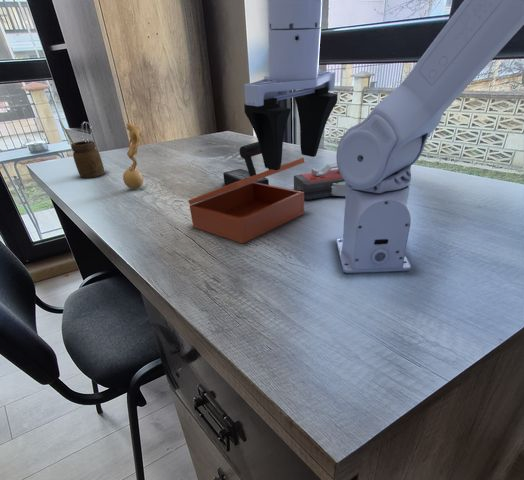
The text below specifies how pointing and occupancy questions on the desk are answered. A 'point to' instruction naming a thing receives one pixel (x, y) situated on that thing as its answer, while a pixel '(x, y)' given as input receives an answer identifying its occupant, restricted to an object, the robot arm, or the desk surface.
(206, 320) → the desk surface
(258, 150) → the lid
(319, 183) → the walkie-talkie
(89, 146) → the brown clasp jar
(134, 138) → the figurine
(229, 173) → the multiport hub
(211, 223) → the tray
